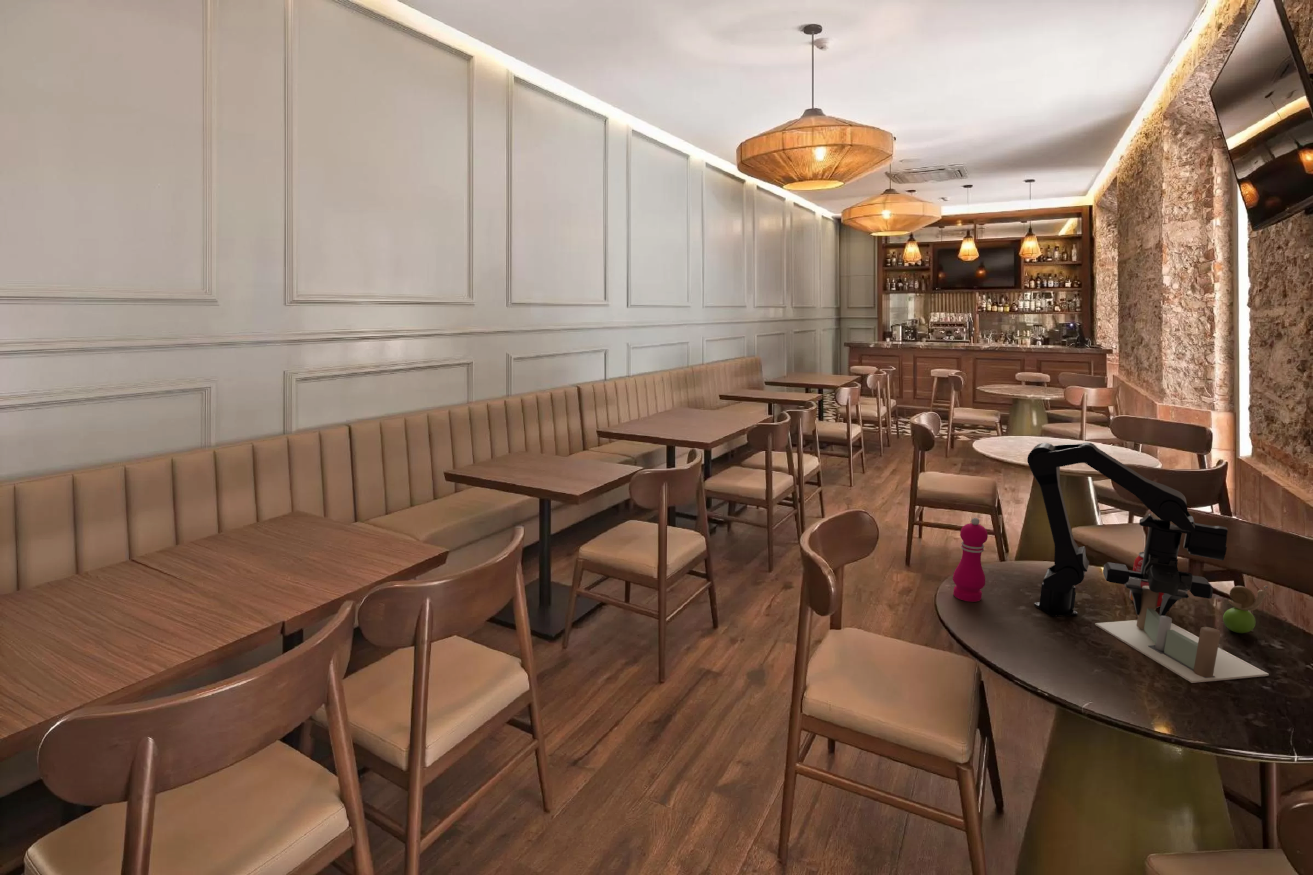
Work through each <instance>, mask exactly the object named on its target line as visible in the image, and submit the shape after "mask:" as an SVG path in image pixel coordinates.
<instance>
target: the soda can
mask: <svg viewBox="0 0 1313 875" xmlns="http://www.w3.org/2000/svg"><path fill="white" fill-rule="evenodd" d="M1143 557H1144V551H1140V552H1138V555H1137V557H1135V559H1134V560H1133V561H1134V562H1133V565H1132V566H1133V567H1132V571H1136V572H1141V565H1142V563H1143ZM1140 585H1141V587H1142V586H1149V583H1148V582H1142V581H1141V584H1140ZM1163 595H1164V593H1160V592H1159V595H1158V601H1157V607H1156V609H1157V608H1159V607H1161V603H1162V599H1163ZM1129 599H1130V600H1131V601H1132V602H1134V601H1133V597H1132V593H1131V590H1130V589H1129Z"/></svg>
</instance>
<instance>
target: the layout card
mask: <svg viewBox="0 0 1313 875" xmlns="http://www.w3.org/2000/svg"><path fill="white" fill-rule="evenodd" d="M1094 625H1095V626H1096V627H1098V628H1099V629H1101V630H1103V631H1105V632H1106V633H1107V634H1109V635H1111V636H1112V637H1114V638H1116V639H1118V640H1119V641H1121V642H1123V643H1124V644H1126V645H1128V646H1130V647H1131V648H1133V649H1134V650H1136V651H1138V652H1139V653H1140V654H1143V655H1145V656H1146V657H1148V658H1149V659H1151V660H1152V661H1155V663H1158V664H1159V665H1161V666H1163V667H1165V668H1166V669H1168V670H1169V671H1171V672H1173V673H1174V674H1176V675H1178V676H1180V677H1181V678H1182V679H1184V680H1186V681H1188V682H1189V683H1191V684H1193V683H1205V682H1206V683H1207V682H1217V681H1227V680H1237V679H1248V678H1257V677H1259V678H1260V677H1269V673H1268V672H1266V671H1264V670H1263V669H1260V668H1258V667H1256V666H1254V665H1252V664H1251V663H1249V662H1247V661H1245V660H1243V659H1242V658H1239V657H1238V656H1235V655H1233V654H1231V653H1230V652H1227V651H1226V650H1224V649H1223V648H1220V647H1218V651H1217V656H1216V662H1215V667H1214V673H1213V677H1204V676H1203V677H1202V676H1199V675H1197V674H1195V673H1194V672H1193V670H1194V669H1192V668H1190V667H1189V666H1187V665H1185V664H1183V663H1182V662H1180V661H1178V660H1176V659H1175V658H1173V657H1171V656H1170V655H1168V654H1166V653H1164V651H1160V650H1157V649H1156V648H1155V645H1156V644H1155V643H1154V642H1153V640H1152V639H1151V638H1150V637H1149V635H1148V634H1147V633H1146V632H1145V630H1144V629H1141V628H1139V627H1137V619H1133V620H1119V621H1107V622H1106V621H1105V622H1096V623H1094ZM1170 630H1174V631H1176V632H1178V633H1180V634H1182V635H1184V636H1186V637H1187V638H1189V639H1191V640H1193V641H1195V642H1197V643H1198V641H1199V636H1197V635H1195V634H1194V633H1192V632H1189V631H1188V630H1186V629H1184V628H1182V627H1180V626H1179V625H1176V624H1174V623H1171V629H1170Z"/></svg>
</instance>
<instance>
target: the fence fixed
mask: <svg viewBox="0 0 1313 875" xmlns="http://www.w3.org/2000/svg"><path fill="white" fill-rule="evenodd" d="M1172 621H1173V618H1172V617H1170V616H1168V615H1165V616H1160V620H1159V626H1158V633H1157V639H1156V645H1155V648H1156V649H1157V650H1160V651H1164V653H1166V654H1168V655H1170V656H1171V657H1173V658H1175V659H1176V660H1178V661H1180V662H1182V663H1183V664H1185V665H1187V666H1189V667H1190V668H1192V669H1194V670H1193V672H1194V673H1195V674H1197V675H1199V676H1202V677H1203V676H1204V677H1213V673H1214V667H1215V662H1216V656H1217V651H1218V648H1219V644H1220V639H1221V631H1220V630H1218V629H1216V628H1213V627H1209V626H1202V627H1200V630H1199V631H1200V632H1199V636H1198V637H1199V641H1198V643H1197V642H1195V641H1193V640H1191V639H1189V638H1187V637H1186V636H1184V635H1182V634H1180V633H1178V632H1176V631H1174V630H1170V629H1171V623H1172Z"/></svg>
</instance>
